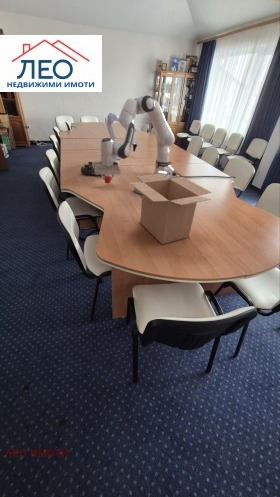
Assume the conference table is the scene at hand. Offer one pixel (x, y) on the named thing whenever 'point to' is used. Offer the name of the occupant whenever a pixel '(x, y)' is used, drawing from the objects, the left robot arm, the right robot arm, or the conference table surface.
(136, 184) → the box
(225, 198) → the conference table surface
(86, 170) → the laser sight
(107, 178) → the canister
